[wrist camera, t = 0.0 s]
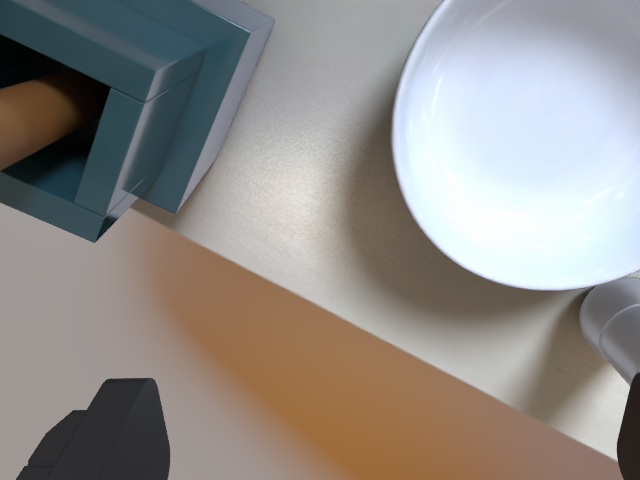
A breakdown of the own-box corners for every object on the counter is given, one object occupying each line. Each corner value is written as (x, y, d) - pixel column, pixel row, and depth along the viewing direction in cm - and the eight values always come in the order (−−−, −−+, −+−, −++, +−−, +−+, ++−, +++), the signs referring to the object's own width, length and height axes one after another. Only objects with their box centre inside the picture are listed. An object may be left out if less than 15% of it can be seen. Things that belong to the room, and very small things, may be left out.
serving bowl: (542, 295, 43) (577, 347, 36) (321, 140, 38) (318, 170, 32) (774, 67, 35) (869, 83, 29) (535, -158, 31) (587, -197, 24)
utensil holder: (125, -59, 33) (-103, -113, 16) (275, 20, 35) (215, 48, 18) (80, 92, 37) (-144, 180, 20) (217, 156, 39) (120, 290, 21)
